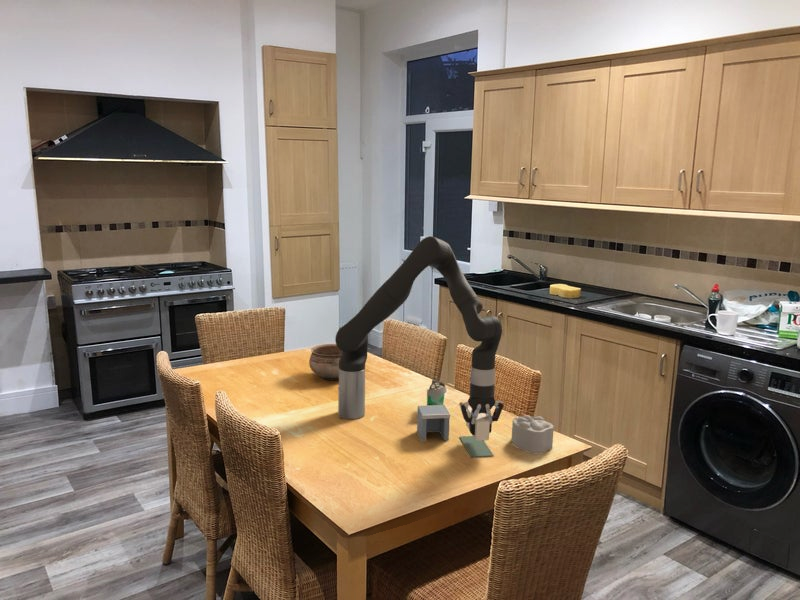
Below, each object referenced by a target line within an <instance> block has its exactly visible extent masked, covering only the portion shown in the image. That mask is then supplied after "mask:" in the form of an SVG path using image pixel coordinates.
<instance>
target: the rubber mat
mask: <svg viewBox="0 0 800 600" xmlns="http://www.w3.org/2000/svg"><path fill="white" fill-rule="evenodd" d="M459 439H460V441H461V443H462V444H463V446H464V447H465V449H466V451H467V452H468V454H469V456H470V458H474V459H475V458H491V457H492V458H493V457H495V454H494V453H493V452H492V450H491V449H490V447H489V446H488V445H487V443H486V441H485V440H476V439H475V438H474V436H473V435H466V436H465V435H464V436H463V435H461V436H460V435H459Z"/></svg>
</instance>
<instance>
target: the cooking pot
mask: <svg viewBox="0 0 800 600" xmlns="http://www.w3.org/2000/svg"><path fill="white" fill-rule="evenodd" d="M310 351H311V354H310V357H309V360H308V364H309V365H308V366H309V367H310V370H311V371H312V372H313V373H314V374H315V375H317V376H318V377H320V378H323V379H324V380H326V381H337V380H338V381H339V360H340V358H341V356H342V352H343V351H342V350H340V349H339V348H338V347H337V345H336V343H325V344H319V345H315V346H313V347H311V348H310Z"/></svg>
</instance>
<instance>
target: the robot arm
mask: <svg viewBox="0 0 800 600" xmlns="http://www.w3.org/2000/svg"><path fill="white" fill-rule="evenodd" d="M428 267H431V268H433V269H434V268H435V269H436V270H437V271H438V272H439V273H440V274H441V276H442V277H443V279H444V280H445V282H446V284H447V286H448V291H449V294H450V297H451V300H452V301H453V303H454V305H455V306H456V308H457V309H458V311H459V312H460V313H461V316H462V320H463V323H464V327H465V330H466V332H467V335H468V336H469V338H470V339H471V340H473V341H474V342H481V343H480V344H479V345H478V346H476V347H474V348H473V350H472V351H471V368H470V376H469V398H468V400H467V401H465V402H462V401H461V402H460V403H459V404H458V405H459V407H460V410H461V413H462V417H463V420H464V421H465V422H467V423H468V422H469V423H470V425H469V429H468V430H469V432H470V434H471V436H473V435H475V421H476V418H477V417H478V414H480V413H484V414H485V416H486V417H487V418H488V420H489V421H490V428H489V434H491V433H492V426H493V425H492V424H493V422H497V421H499V418H500V416H501V413H502V411H503V408H504V403H503V402H502V401H501V400H496V398H495V393H496V392H495V388H496V387H495V386H496V354H497V351H498V348H499V345H500V341H501V338H502V334H503V326H502V323H501V320H500V319H499V318H498V317H497V316H495V315H488V316H487V315H486V316H479V315H480V313H481V312H482V311H483V307H484V306H483V303H482V302H481V300H480V298H479V296H478V295H477V294H476V292H475V291H474V289H473V287H472V286H471V285H470V283H469V282H468V280H467V278H466V276H465V275H464V273H463V271H462V269H461V267H460V264H459V263H458V261H457V258H456V256H455V254H454V250H453V249H452V248H451V245H450V244H449V243H448V242H446V241H444V240H443V239H440V238H438V237H435V236H427V237H425V238H423V239H422V240H420V241H419V242H418V244H417V245H416V246H415V247H414V248H413V250H412V251H411V252H410V254H409V255H408V256H407V257H406V259H405V260H404V261H403V263H402V264H401V265H400V266H398V268H397V269H396V270H395V271H394V273H392V274H391V275H390V277H389V278H388V279H387V280H385V281H384V282H383V284H381V286H380V287H379V288H378V289H377V290H376V291H375V292H374V293H373V294H372V296H371V297H370V298H369V299H368V300H367V302H366V303H365V304H364V305H363V306H362V307H361V309H360V310H359V311H358V313H357V314H355V315H354V316H353V317H352V318H351V319H349V321H347V322H346V323H345V324H344V325H343V326H341V327H340V328H339V329H338V330H337V331H336V333H335V338H334V339H335V340H334V341H335V344H336V345H337V347H338V348H339V349H340V350H342V351H343V352H342V356H341V358H340V360H339V379H338V387H337V388H338V391H337V392H338V393H337V394H338V396H337V397H338V399H337V400H338V402H337V403H338V404H337V405H338V406H337V409H338V411H337V412H338V418H339V419H345V420H356V419H360V418H363V417H364V416H365V415H366V414H365V413H366V408H365V407H366V363H367V360H368V352H369V350H368V348H369V347H368V346H369V340H368V339H369V334H370V333H371V332H372V330H373V329H375V328H376V327H377V326H379V325H380V324H381V323H382V322H384V321H385V320H386V319H388V318H389V317H390V316H392V314H394V313H395V312H396V311H397V310H398V309H399V308H400V307H401V306H402V305H403V304H404V303H405V302H406V301H407V299H408V298H409V297H410V293H411V292H412V288H413V285H414V283H415V280H416V278H418V276H419V275H420V274H421V273H422V272H423V271H424V270H425V269H426V268H428ZM493 407H495V408H494V410H493V412H491V410H492V409H493ZM468 408H472V410H471V415H470V417H468V414H467V409H468Z"/></svg>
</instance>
